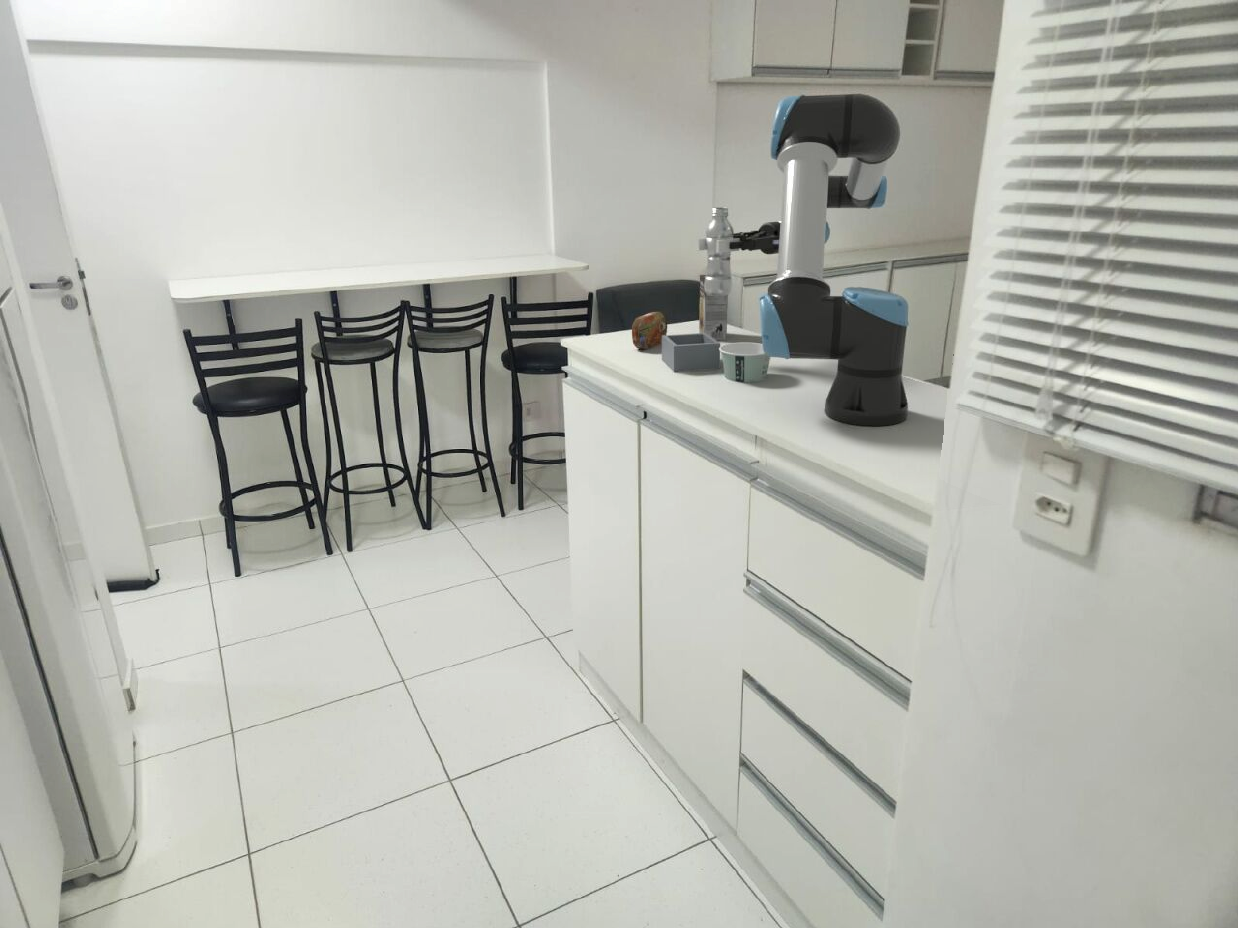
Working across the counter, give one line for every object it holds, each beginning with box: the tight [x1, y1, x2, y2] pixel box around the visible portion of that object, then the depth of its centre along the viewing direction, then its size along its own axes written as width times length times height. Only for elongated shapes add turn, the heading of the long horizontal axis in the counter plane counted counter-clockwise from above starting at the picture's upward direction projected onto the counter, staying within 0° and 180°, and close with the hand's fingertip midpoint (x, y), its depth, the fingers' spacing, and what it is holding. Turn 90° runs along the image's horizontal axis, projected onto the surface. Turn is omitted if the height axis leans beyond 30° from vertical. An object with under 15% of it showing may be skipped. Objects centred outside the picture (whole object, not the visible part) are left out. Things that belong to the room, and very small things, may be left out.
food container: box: [719, 341, 771, 383], centre depth 179 cm, size 12×12×6 cm
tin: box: [631, 311, 668, 350], centre depth 210 cm, size 15×3×8 cm, turn 148°
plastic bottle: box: [704, 207, 735, 297], centre depth 186 cm, size 6×7×20 cm
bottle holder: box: [661, 332, 721, 373], centre depth 191 cm, size 12×11×6 cm
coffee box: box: [698, 274, 729, 341], centre depth 217 cm, size 9×6×16 cm
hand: (707, 245), depth 183 cm, fingers closed on plastic bottle, 6 cm apart
